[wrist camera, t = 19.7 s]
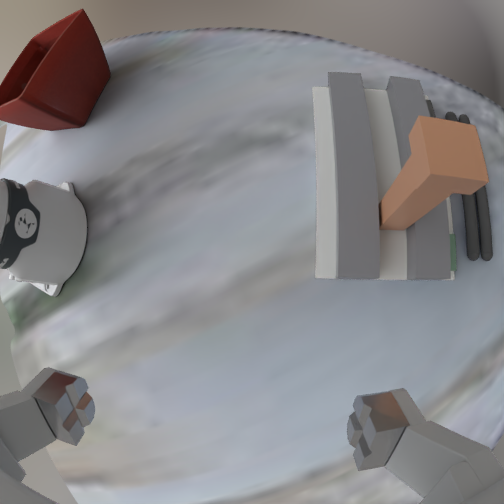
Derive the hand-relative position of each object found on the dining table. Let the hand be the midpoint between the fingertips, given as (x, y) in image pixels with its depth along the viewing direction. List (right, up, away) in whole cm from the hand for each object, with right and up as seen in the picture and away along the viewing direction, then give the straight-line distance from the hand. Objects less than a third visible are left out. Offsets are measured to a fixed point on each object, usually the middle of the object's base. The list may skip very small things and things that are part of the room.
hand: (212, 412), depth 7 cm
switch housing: (+16, +13, +22) cm, 31 cm away
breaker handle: (+16, +8, +20) cm, 27 cm away
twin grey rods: (+28, +13, +20) cm, 37 cm away
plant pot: (-33, +35, +37) cm, 60 cm away
